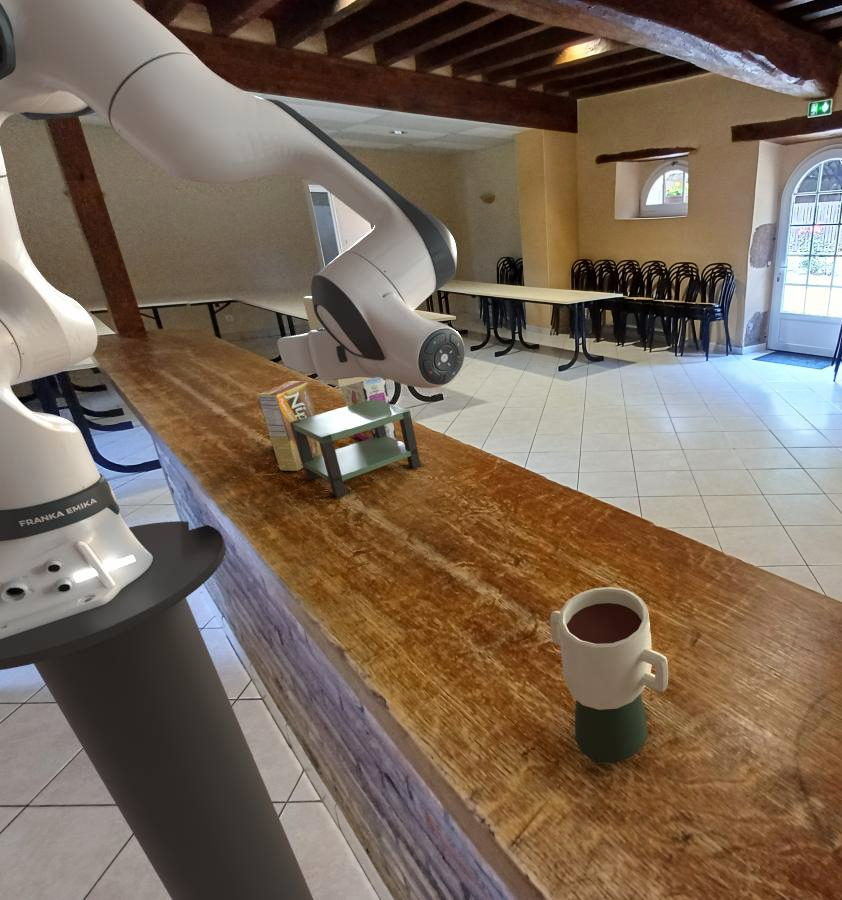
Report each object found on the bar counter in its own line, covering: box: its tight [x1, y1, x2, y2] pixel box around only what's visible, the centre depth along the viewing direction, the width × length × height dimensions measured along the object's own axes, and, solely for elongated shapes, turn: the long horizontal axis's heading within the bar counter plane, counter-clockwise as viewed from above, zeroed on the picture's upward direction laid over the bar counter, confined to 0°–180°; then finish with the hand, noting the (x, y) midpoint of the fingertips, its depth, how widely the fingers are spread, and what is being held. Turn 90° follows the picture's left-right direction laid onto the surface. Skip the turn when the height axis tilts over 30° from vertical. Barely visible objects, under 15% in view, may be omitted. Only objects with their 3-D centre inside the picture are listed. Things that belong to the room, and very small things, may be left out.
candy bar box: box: [341, 377, 398, 441], centre depth 116 cm, size 11×5×16 cm, turn 48°
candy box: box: [257, 380, 322, 472], centre depth 106 cm, size 9×4×15 cm, turn 171°
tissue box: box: [302, 295, 374, 388], centre depth 84 cm, size 6×6×13 cm
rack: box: [290, 399, 421, 498], centre depth 101 cm, size 16×13×11 cm
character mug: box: [549, 586, 669, 764], centre depth 45 cm, size 11×7×13 cm, turn 56°
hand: (335, 335), depth 85 cm, fingers closed on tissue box, 5 cm apart
